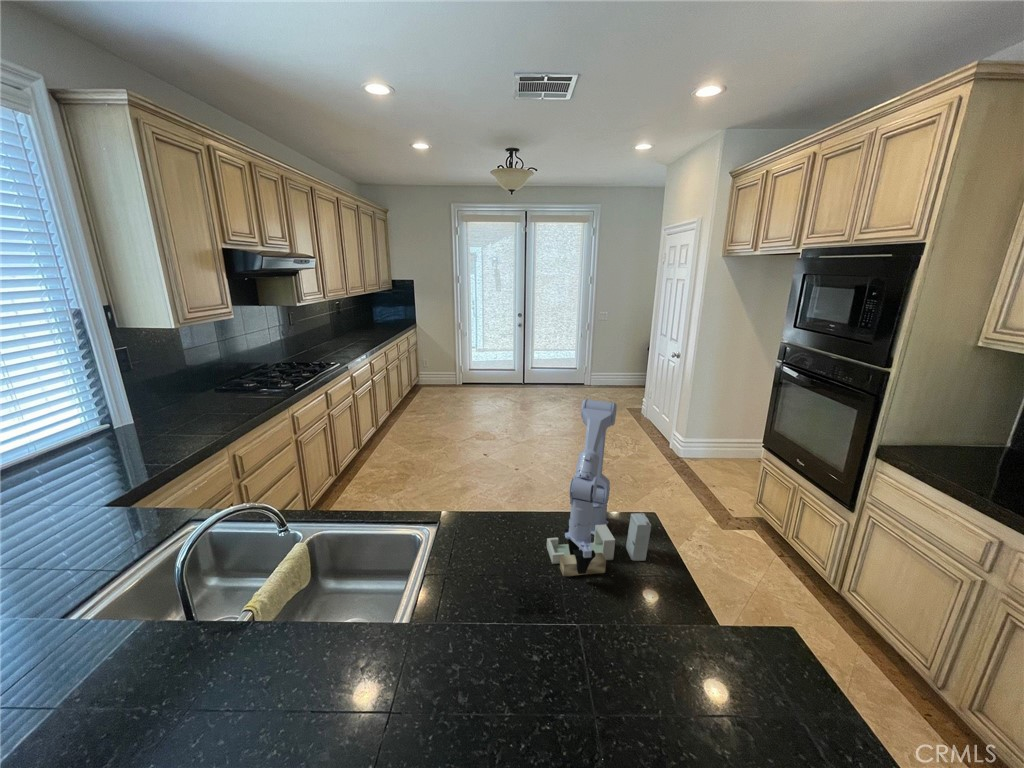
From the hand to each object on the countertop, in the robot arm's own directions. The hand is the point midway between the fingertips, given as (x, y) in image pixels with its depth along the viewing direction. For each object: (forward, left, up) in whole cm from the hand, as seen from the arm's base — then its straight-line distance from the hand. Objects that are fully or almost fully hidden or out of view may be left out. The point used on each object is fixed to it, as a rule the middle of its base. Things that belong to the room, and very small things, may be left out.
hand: (577, 563), depth 111 cm
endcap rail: (-7, -3, -2) cm, 8 cm away
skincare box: (-17, +10, -3) cm, 20 cm away
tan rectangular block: (-1, +1, -3) cm, 3 cm away
